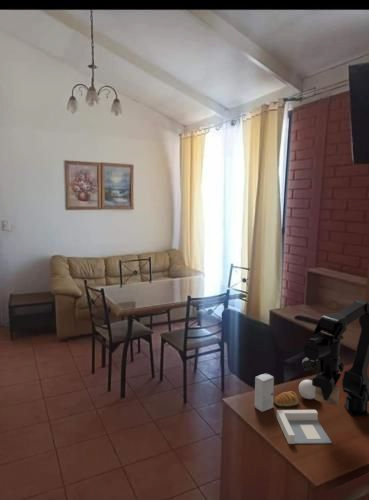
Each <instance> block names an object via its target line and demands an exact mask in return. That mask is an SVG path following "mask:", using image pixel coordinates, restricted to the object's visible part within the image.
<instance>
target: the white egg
mask: <svg viewBox="0 0 369 500" xmlns="http://www.w3.org/2000/svg"><path fill="white" fill-rule="evenodd" d="M298 392H299V394H300V395H301V396H302V397H303V398H304V399H307V400H313V399H315V386H313V385H312V379H304V380H302V381H301V382H300V383H299V385H298Z"/></svg>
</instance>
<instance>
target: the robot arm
mask: <svg viewBox="0 0 369 500" xmlns="http://www.w3.org/2000/svg"><path fill="white" fill-rule="evenodd" d="M357 319H358V323H359V326H360V335H359V338H358V341H357V342H358V343H357V345H356V350H355V354H354V357H353V358H354V359H353V362H352V366H351V367H350V368H349V369H348V370H345V371H344V366H345V364H344V363H343V362H342V361H340V360H341V355H340V350H341V349H340V348H341V340H344V336H343V334H344V333H345V332H346V331H347V330H348V329H347V326H348V325H350V324H351V323H353V322H355V321H356V320H357ZM312 336H313V337H311V338H309V341H308V342H306V343H305V344H304V345H303V353H304V356H305V358H303V359H302V361H301V368H303V369H304V371H305V372H306V371H307V372H308V371H310V370H311V371H312V370H313V371H314V370H316V372H318V373H317V374H315V375H314V376H313V378H312V379H311V380H312V385H313V386H315V387H319V388H321V390H322V394H323V399H324V400H326V401H327V400H328V398H329V396H330V395H331V393H332V391H333V389H334V387H335V386H337V383H338V382H339V380H340V378H341V375H342V374H341V373H343V371H344V374H343V378H342V379H341V386H342V390H343V392H344V393H345V394H346V397H345V401H344V402H345V404H344V407H345V408H346V410H347V411H348V413H349V414H350V415H351V416H369V412H368V404H369V403H368V402H369V376H368V372H367V370H368V366H369V301H367V300H363V299H362V300H361V299H355V301H354V302H353V303H352V304H350V305H349V306H347V307H344V308H343V309H342V310H339V311H338V312H331V313H330V312H329V313H327V314H324V315H322V316H321V317H320V319H319V320H318V322H317V324H316V326H315V328H314V329H313V332H312Z"/></svg>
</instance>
